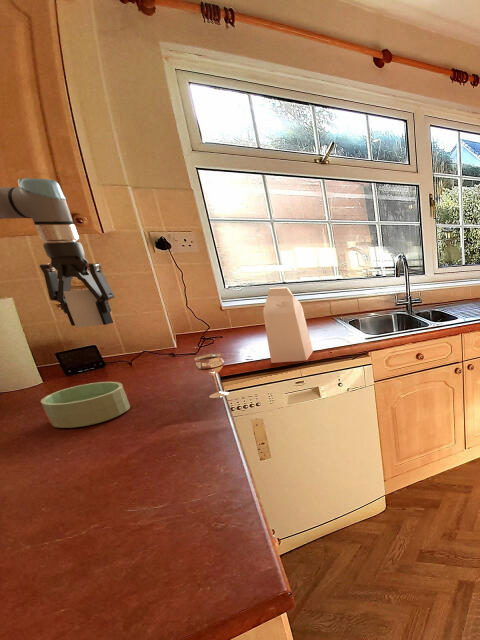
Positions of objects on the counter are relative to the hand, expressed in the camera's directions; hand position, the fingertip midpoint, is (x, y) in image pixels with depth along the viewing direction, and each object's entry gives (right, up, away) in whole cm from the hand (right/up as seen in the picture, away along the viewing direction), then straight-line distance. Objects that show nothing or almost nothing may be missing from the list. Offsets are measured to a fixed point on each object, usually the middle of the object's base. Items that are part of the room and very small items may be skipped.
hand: (92, 324), depth 123 cm
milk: (+39, -7, +38) cm, 55 cm away
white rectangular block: (0, 0, 0) cm, 0 cm away
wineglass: (+34, -21, +4) cm, 40 cm away
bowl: (+9, -26, -9) cm, 29 cm away
